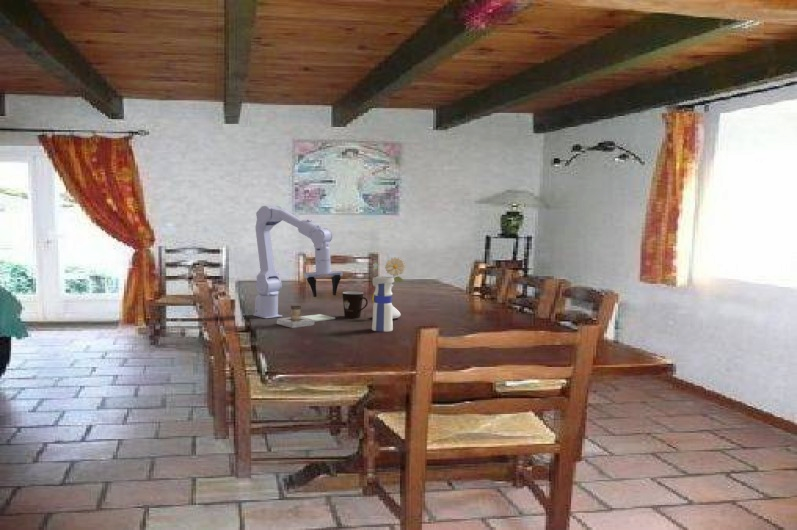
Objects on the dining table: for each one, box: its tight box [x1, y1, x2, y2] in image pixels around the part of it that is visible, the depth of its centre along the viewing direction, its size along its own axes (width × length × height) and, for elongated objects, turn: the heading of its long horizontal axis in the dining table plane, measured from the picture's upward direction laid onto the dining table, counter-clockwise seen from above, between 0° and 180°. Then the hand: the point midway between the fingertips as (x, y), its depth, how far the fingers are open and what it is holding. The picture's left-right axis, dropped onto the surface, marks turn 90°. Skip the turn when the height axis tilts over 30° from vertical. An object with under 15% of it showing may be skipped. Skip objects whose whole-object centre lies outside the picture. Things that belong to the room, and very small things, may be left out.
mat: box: [301, 313, 336, 322], centre depth 255 cm, size 10×10×1 cm
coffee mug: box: [342, 291, 369, 319], centre depth 259 cm, size 12×9×10 cm
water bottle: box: [371, 261, 395, 332], centre depth 234 cm, size 8×9×25 cm
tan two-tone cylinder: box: [290, 304, 302, 321], centre depth 240 cm, size 4×4×7 cm
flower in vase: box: [384, 257, 406, 320], centre depth 259 cm, size 13×11×25 cm
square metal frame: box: [276, 316, 316, 329], centre depth 241 cm, size 10×10×2 cm
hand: (324, 296), depth 244 cm, fingers open, 7 cm apart
